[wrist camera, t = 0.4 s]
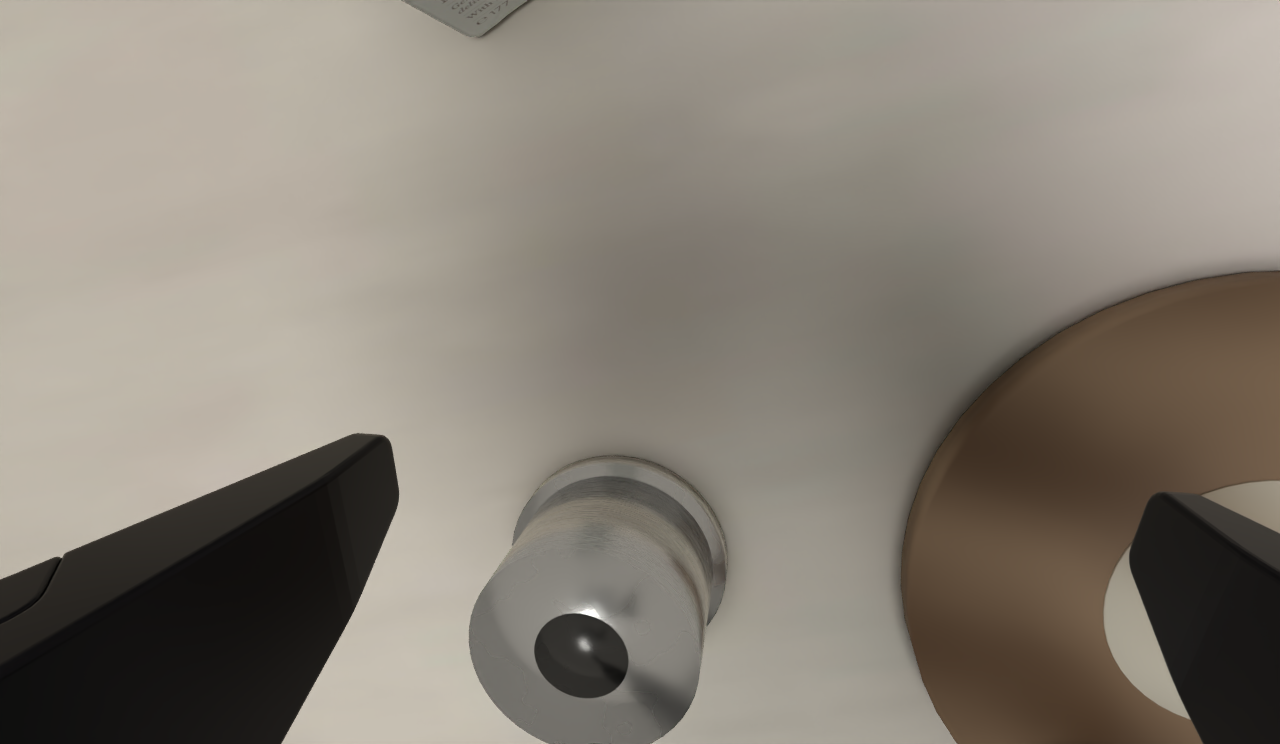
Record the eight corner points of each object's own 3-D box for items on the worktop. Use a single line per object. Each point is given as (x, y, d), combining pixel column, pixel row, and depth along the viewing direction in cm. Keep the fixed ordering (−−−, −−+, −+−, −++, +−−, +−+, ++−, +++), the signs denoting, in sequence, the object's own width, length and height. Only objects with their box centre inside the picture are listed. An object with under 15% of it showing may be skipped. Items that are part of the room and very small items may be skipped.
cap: (658, 680, 26) (629, 811, 21) (485, 574, 26) (413, 677, 21) (769, 530, 24) (768, 634, 19) (580, 414, 24) (526, 485, 19)
